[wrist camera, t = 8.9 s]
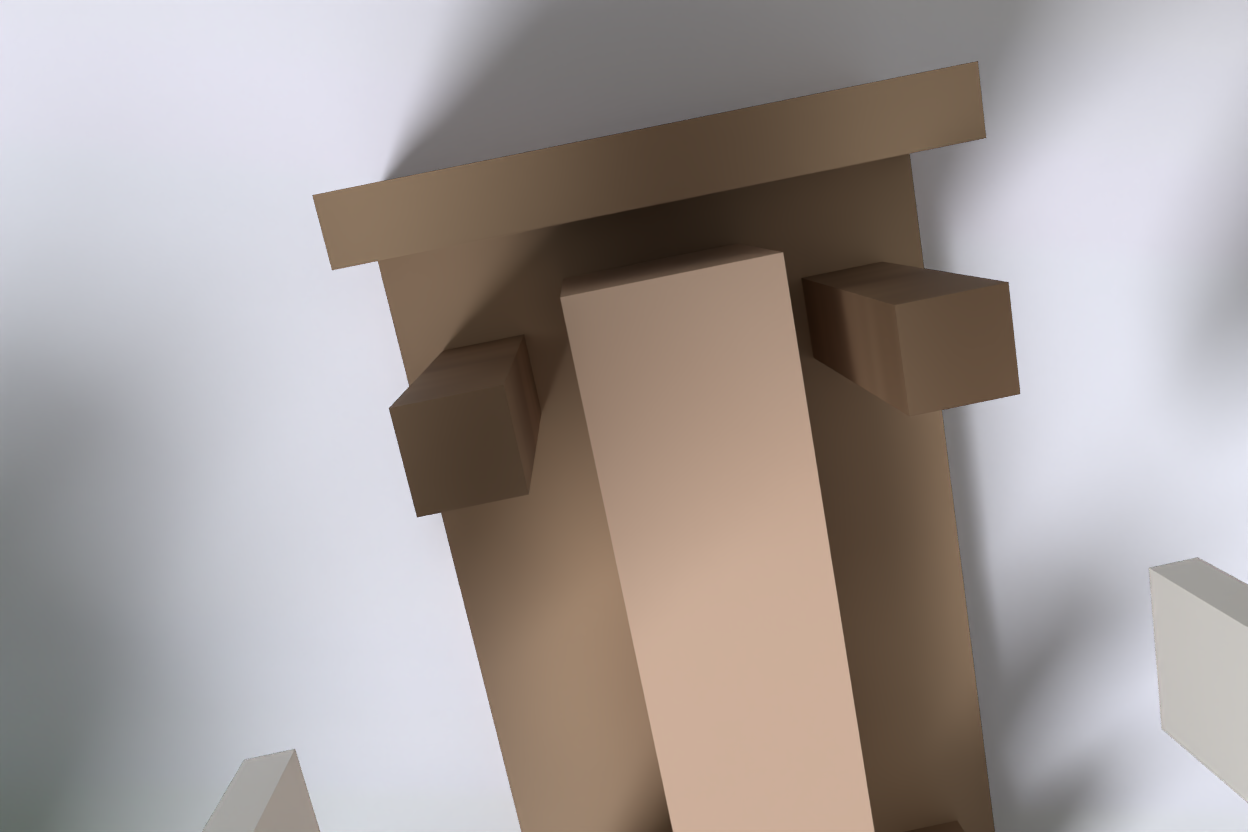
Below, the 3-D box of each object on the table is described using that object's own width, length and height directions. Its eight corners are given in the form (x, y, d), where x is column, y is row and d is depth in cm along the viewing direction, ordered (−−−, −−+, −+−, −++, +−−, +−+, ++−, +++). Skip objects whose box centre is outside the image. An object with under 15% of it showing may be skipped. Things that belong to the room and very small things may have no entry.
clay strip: (708, 971, 19) (737, 1138, 16) (563, 279, 16) (560, 297, 12) (854, 940, 19) (917, 1101, 16) (738, 243, 16) (783, 252, 12)
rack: (583, 1031, 20) (587, 1359, 15) (375, 193, 17) (267, 183, 11) (989, 946, 21) (1155, 1238, 15) (878, 92, 17) (1043, 27, 11)
